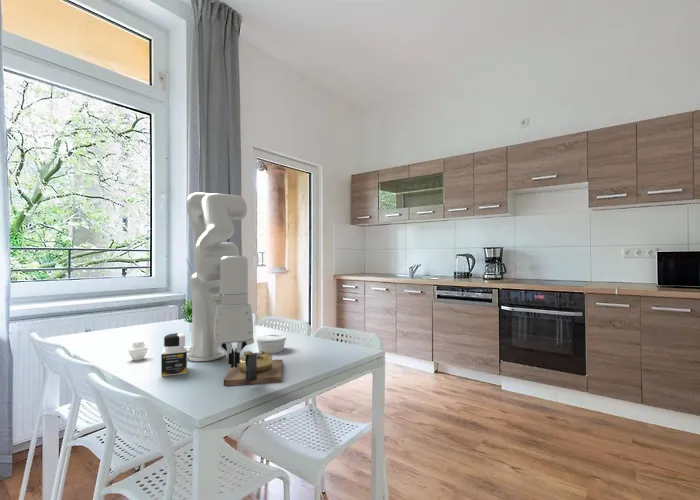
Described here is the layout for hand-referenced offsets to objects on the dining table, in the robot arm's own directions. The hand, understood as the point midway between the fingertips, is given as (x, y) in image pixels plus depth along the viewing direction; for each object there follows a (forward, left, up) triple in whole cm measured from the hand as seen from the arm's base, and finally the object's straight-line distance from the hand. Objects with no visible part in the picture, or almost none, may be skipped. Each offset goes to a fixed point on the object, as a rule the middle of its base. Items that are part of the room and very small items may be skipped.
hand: (234, 366), depth 99 cm
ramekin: (+8, +40, -6) cm, 41 cm away
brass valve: (+4, +8, -4) cm, 10 cm away
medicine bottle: (-22, +19, -6) cm, 29 cm away
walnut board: (+4, +12, -6) cm, 14 cm away
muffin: (-39, +37, -6) cm, 55 cm away
